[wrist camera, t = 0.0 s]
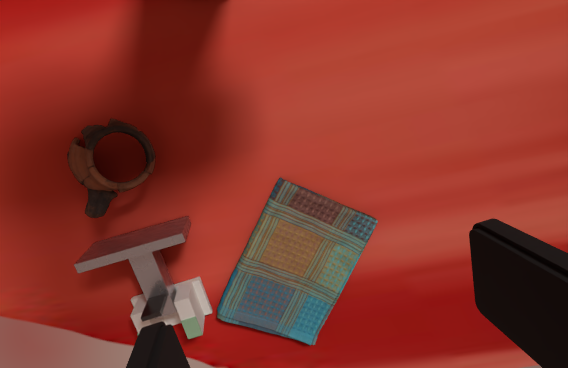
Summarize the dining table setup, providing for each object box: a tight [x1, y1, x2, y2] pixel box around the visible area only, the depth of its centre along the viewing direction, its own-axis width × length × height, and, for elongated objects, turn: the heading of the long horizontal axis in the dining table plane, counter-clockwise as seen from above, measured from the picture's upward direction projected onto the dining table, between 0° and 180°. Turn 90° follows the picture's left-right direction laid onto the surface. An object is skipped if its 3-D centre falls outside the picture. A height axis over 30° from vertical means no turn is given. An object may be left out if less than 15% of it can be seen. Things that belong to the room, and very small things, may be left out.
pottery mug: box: [67, 118, 155, 218], centre depth 41 cm, size 12×9×8 cm
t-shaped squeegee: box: [74, 216, 191, 322], centre depth 44 cm, size 12×13×8 cm
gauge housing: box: [130, 277, 212, 339], centre depth 47 cm, size 6×10×5 cm, turn 104°
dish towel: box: [217, 178, 377, 345], centre depth 50 cm, size 17×23×2 cm
